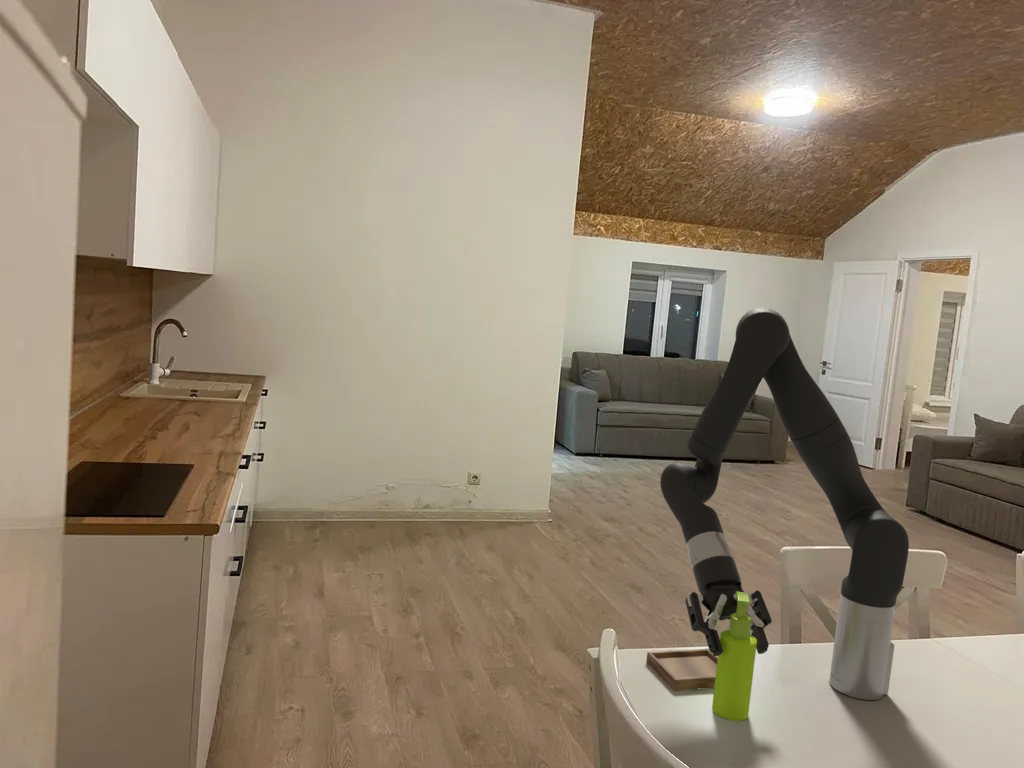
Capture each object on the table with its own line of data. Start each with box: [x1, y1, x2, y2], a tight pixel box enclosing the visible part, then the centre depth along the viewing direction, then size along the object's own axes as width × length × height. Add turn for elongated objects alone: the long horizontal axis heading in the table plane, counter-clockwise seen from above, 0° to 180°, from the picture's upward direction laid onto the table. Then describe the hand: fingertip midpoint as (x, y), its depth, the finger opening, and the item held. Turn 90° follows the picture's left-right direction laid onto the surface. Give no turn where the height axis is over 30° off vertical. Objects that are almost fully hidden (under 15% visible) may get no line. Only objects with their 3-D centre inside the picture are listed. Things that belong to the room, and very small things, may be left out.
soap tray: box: [646, 648, 718, 692], centre depth 145 cm, size 13×11×2 cm
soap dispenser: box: [711, 591, 757, 722], centre depth 132 cm, size 6×7×20 cm
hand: (741, 653), depth 130 cm, fingers open, 8 cm apart
